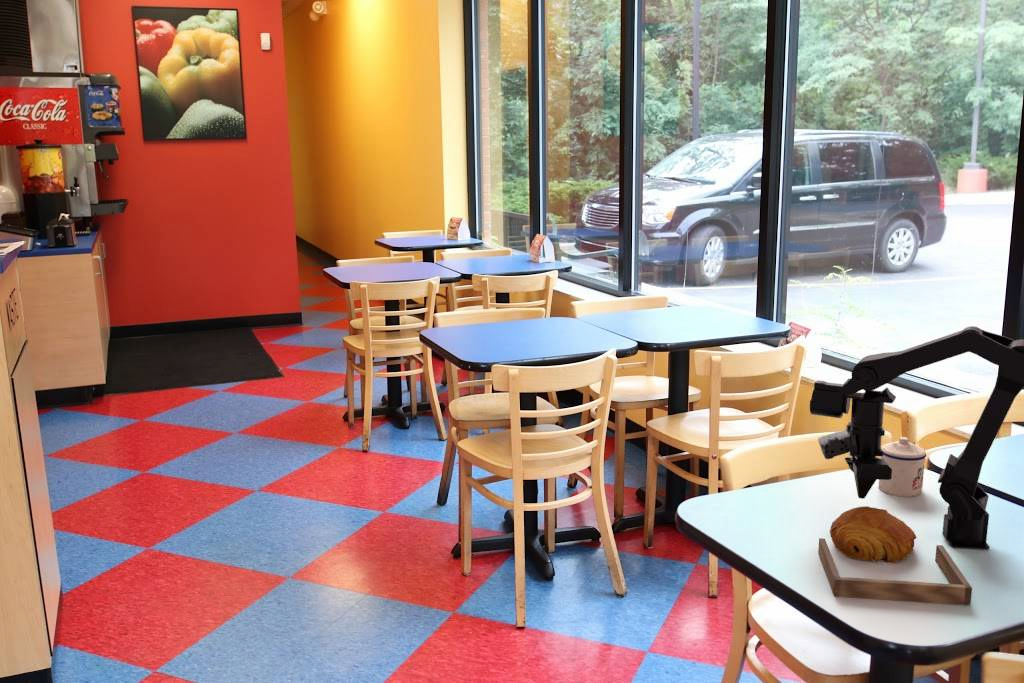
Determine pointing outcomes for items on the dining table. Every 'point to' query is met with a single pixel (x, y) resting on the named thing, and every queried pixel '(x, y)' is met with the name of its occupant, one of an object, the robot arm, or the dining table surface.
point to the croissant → (872, 535)
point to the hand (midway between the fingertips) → (861, 497)
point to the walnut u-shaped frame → (900, 583)
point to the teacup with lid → (903, 468)
